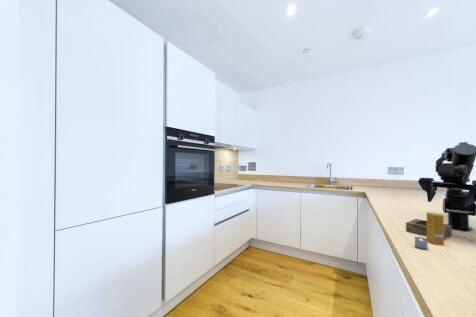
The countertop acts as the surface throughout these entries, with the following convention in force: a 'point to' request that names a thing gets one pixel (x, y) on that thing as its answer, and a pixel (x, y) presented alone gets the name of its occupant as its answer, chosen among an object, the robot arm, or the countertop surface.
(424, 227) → the hole block
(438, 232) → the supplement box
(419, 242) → the short metal stub
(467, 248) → the countertop surface
